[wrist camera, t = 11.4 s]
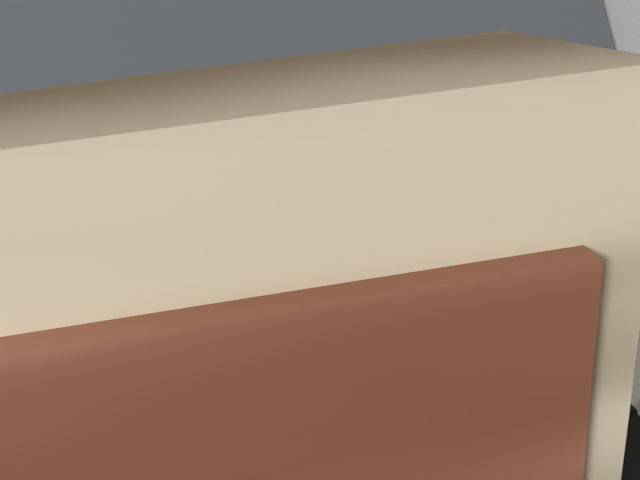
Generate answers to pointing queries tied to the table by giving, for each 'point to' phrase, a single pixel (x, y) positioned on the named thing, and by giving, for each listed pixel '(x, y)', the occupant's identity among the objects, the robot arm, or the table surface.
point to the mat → (250, 32)
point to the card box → (325, 267)
